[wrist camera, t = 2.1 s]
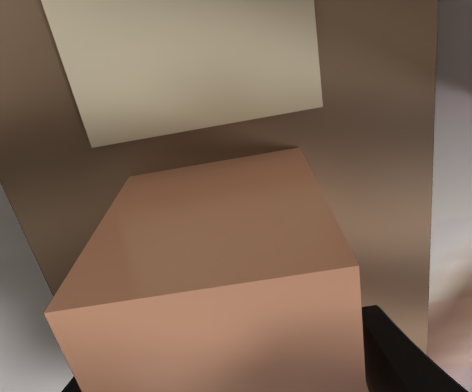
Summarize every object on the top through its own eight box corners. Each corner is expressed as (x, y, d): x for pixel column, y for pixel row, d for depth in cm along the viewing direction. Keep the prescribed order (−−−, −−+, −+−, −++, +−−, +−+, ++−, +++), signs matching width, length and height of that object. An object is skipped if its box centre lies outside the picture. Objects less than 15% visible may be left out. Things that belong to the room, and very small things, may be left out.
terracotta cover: (325, 370, 17) (376, 566, 11) (195, 388, 17) (176, 586, 11) (299, 147, 13) (359, 265, 7) (129, 176, 13) (43, 313, 7)
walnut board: (415, 371, 18) (427, 394, 17) (121, 410, 19) (114, 434, 18) (432, -612, 7) (467, -719, 6) (-243, -416, 8) (-315, -481, 7)
